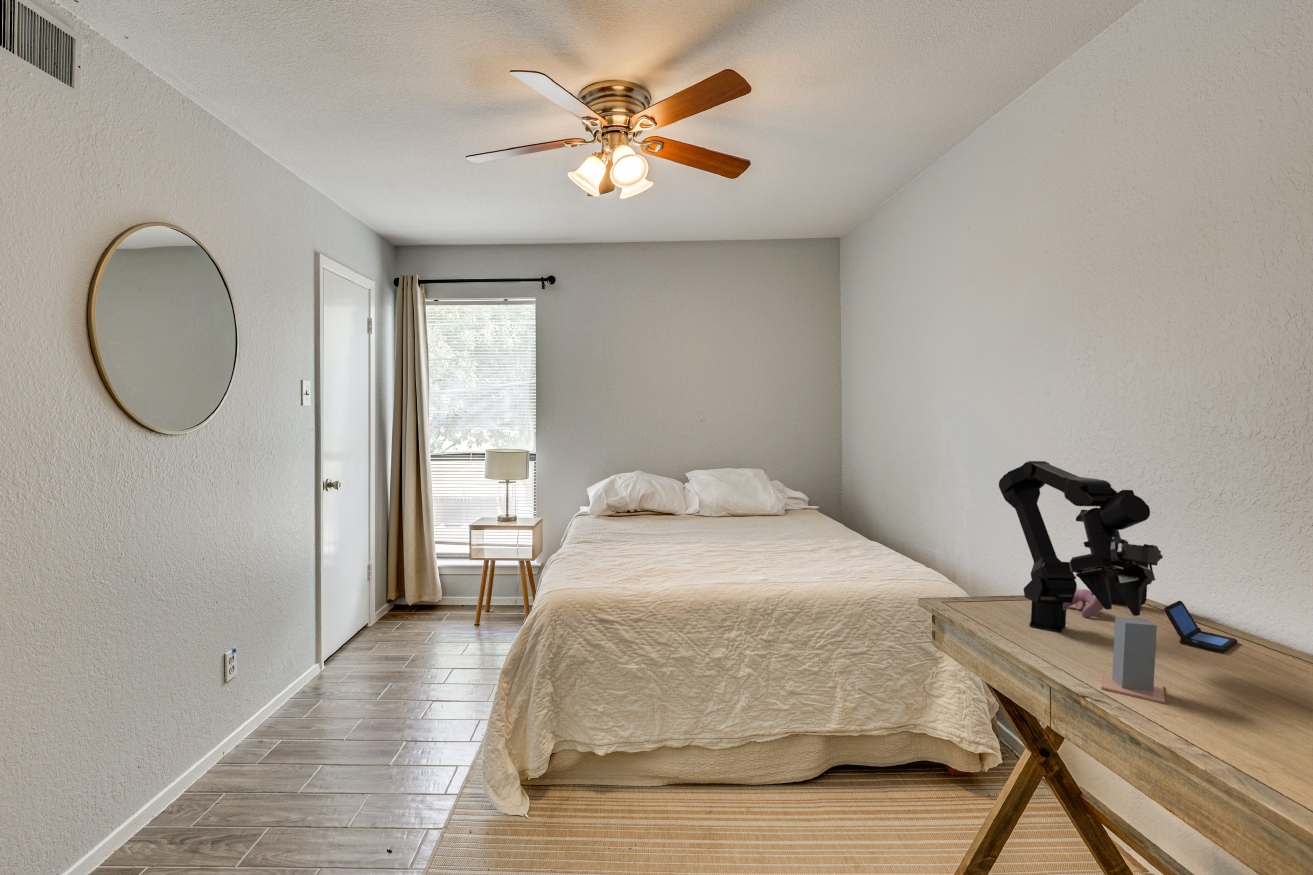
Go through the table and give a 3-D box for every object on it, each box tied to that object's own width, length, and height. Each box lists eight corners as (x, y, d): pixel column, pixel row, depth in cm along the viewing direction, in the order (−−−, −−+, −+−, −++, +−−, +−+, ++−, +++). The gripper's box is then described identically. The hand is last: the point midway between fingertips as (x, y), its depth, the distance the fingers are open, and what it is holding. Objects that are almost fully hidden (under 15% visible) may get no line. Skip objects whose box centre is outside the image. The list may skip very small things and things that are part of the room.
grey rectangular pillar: (1112, 680, 117) (1115, 616, 117) (1142, 682, 116) (1145, 619, 116) (1122, 687, 114) (1125, 622, 113) (1153, 690, 113) (1156, 625, 112)
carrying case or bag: (1148, 606, 166) (1151, 551, 166) (1152, 609, 164) (1154, 554, 163) (1100, 600, 171) (1103, 547, 170) (1102, 603, 168) (1105, 549, 168)
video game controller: (1098, 624, 155) (1112, 600, 155) (1082, 616, 155) (1096, 591, 155) (1071, 612, 165) (1084, 589, 165) (1056, 604, 165) (1069, 581, 165)
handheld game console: (1223, 655, 133) (1225, 621, 132) (1160, 640, 141) (1162, 607, 141) (1239, 644, 140) (1241, 611, 140) (1178, 629, 149) (1179, 599, 148)
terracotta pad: (1101, 688, 114) (1101, 686, 114) (1102, 673, 121) (1102, 671, 121) (1164, 703, 108) (1164, 701, 108) (1162, 686, 116) (1162, 684, 116)
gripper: (1116, 517, 121) (1138, 599, 114) (1172, 535, 128) (1196, 613, 121) (1060, 531, 130) (1077, 608, 123) (1115, 547, 137) (1134, 620, 130)
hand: (1122, 612), depth 124 cm, fingers open, 9 cm apart
